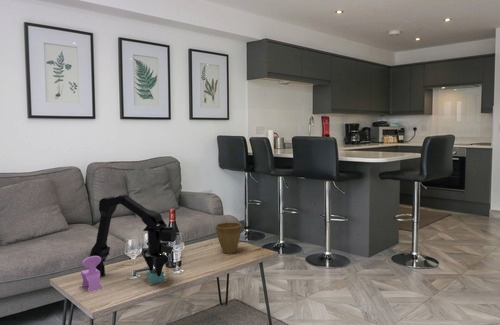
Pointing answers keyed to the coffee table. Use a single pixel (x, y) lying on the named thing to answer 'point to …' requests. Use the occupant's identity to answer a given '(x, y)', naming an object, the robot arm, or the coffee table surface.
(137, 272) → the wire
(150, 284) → the peg
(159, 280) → the teal socket block
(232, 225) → the plant pot
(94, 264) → the toy chair
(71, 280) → the coffee table surface
